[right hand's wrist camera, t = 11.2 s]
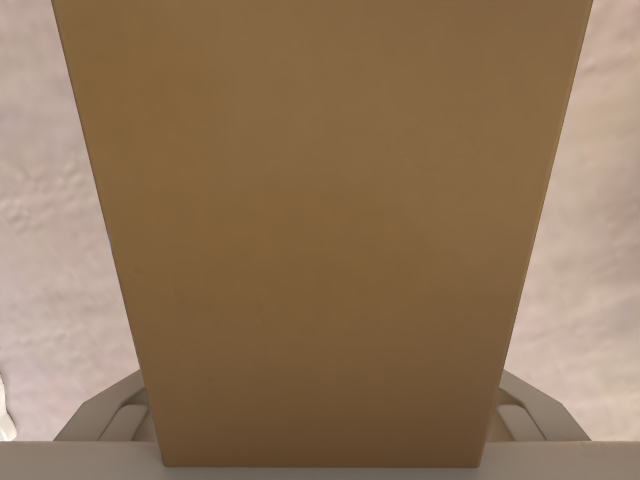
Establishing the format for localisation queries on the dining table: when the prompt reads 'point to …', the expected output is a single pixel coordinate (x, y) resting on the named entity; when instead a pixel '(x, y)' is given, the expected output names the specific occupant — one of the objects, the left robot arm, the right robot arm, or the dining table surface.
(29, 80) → the dining table surface
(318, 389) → the bar
